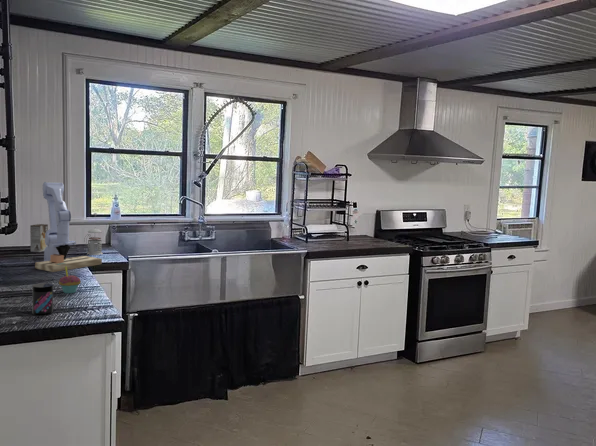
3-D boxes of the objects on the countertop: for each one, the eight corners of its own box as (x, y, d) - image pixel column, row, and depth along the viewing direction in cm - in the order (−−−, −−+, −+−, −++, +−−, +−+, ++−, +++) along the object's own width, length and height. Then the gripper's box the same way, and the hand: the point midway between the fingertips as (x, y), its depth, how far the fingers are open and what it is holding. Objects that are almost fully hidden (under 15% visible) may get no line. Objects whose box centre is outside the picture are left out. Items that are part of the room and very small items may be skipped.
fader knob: (50, 261, 267) (50, 254, 266) (57, 260, 270) (57, 253, 270) (56, 262, 264) (56, 255, 264) (63, 262, 268) (63, 254, 268)
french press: (106, 253, 318) (107, 213, 316) (90, 255, 308) (90, 214, 306) (96, 251, 323) (97, 212, 321) (80, 253, 314) (80, 212, 311)
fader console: (35, 268, 264) (35, 262, 264) (84, 261, 291) (84, 255, 291) (53, 272, 258) (53, 265, 258) (101, 264, 284) (101, 258, 284)
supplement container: (28, 315, 184) (28, 286, 183) (38, 310, 190) (38, 282, 189) (47, 316, 183) (47, 287, 182) (56, 311, 190) (56, 283, 189)
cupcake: (66, 295, 214) (66, 266, 213) (54, 292, 219) (54, 264, 217) (84, 291, 221) (85, 264, 220) (72, 288, 226) (72, 261, 225)
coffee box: (37, 249, 321) (37, 223, 320) (48, 250, 321) (48, 224, 320) (30, 251, 312) (30, 225, 311) (40, 252, 312) (40, 225, 311)
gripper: (56, 235, 261) (55, 262, 262) (80, 233, 274) (79, 258, 275) (46, 234, 264) (46, 260, 265) (71, 232, 277) (70, 257, 278)
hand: (62, 259), depth 270 cm, fingers closed
